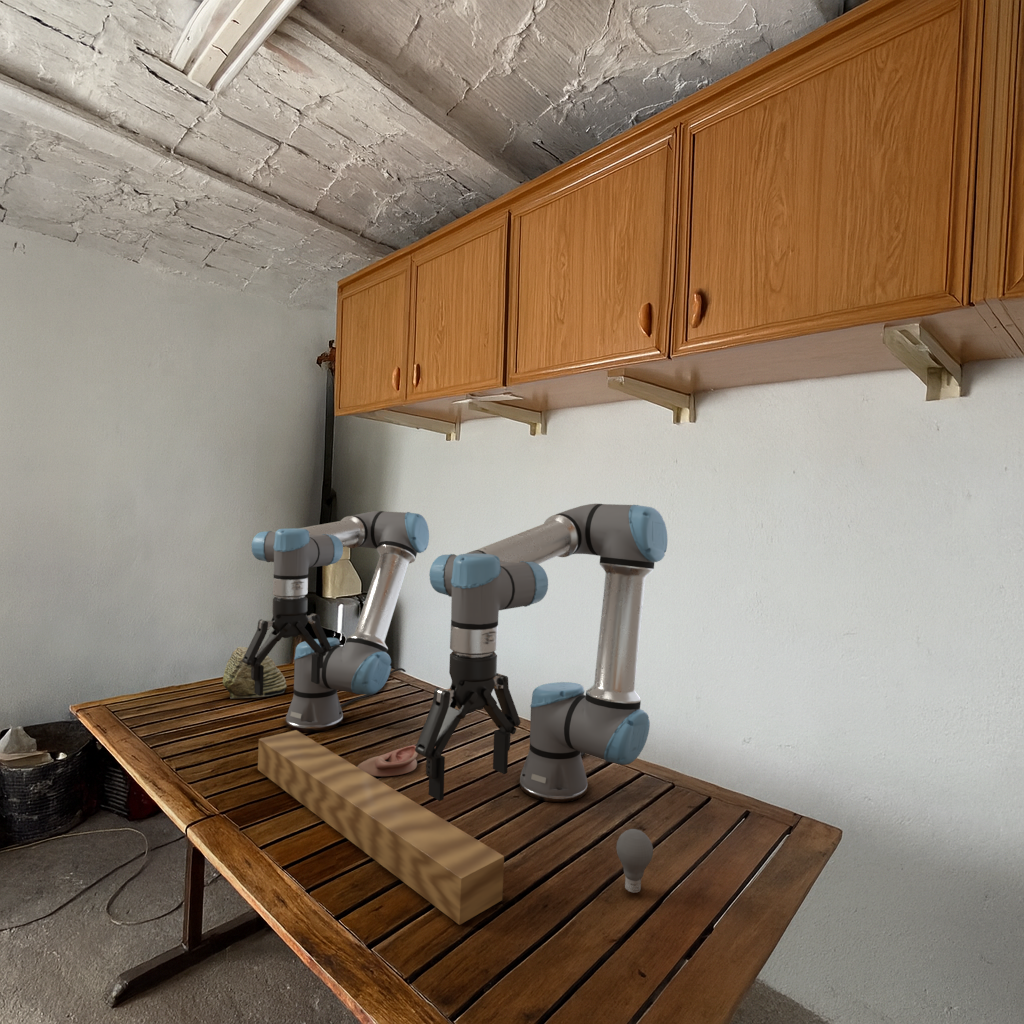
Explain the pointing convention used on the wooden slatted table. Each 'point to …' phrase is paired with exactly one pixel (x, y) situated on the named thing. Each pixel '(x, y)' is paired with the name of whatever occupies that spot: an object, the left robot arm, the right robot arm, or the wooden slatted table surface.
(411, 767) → the anatomical model
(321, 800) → the long beam
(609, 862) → the wooden slatted table surface
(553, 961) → the wooden slatted table surface
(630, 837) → the light bulb
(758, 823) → the wooden slatted table surface
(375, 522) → the left robot arm
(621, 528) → the right robot arm
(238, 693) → the fossil
